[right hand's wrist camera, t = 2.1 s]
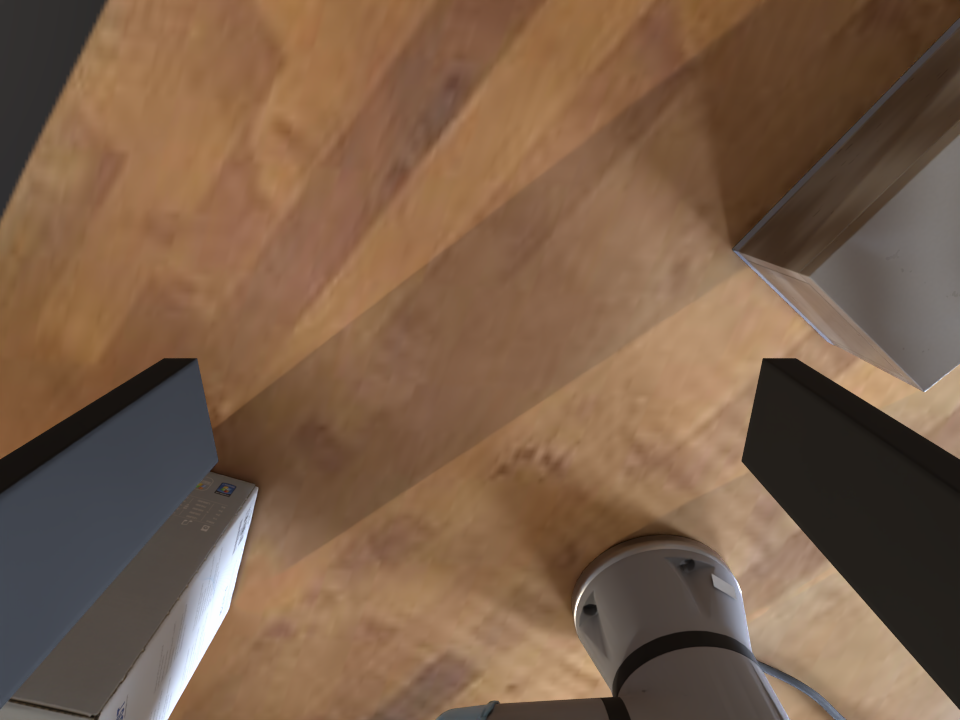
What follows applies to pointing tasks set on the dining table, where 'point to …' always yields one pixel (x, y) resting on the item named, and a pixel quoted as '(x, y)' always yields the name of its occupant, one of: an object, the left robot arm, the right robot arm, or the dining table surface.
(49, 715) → the hard drive box
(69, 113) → the dining table surface
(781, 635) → the dining table surface
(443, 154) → the dining table surface
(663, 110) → the dining table surface
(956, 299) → the cabinet
